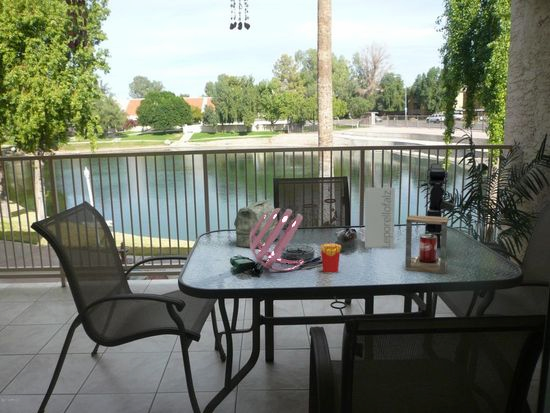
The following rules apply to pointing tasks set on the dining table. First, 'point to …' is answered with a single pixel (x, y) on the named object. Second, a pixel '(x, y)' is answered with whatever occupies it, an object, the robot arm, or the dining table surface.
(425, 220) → the wooden open frame
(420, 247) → the soda can
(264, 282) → the dining table surface
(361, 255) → the dining table surface
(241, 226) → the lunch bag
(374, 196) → the white box
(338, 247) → the french fries
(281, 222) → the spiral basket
